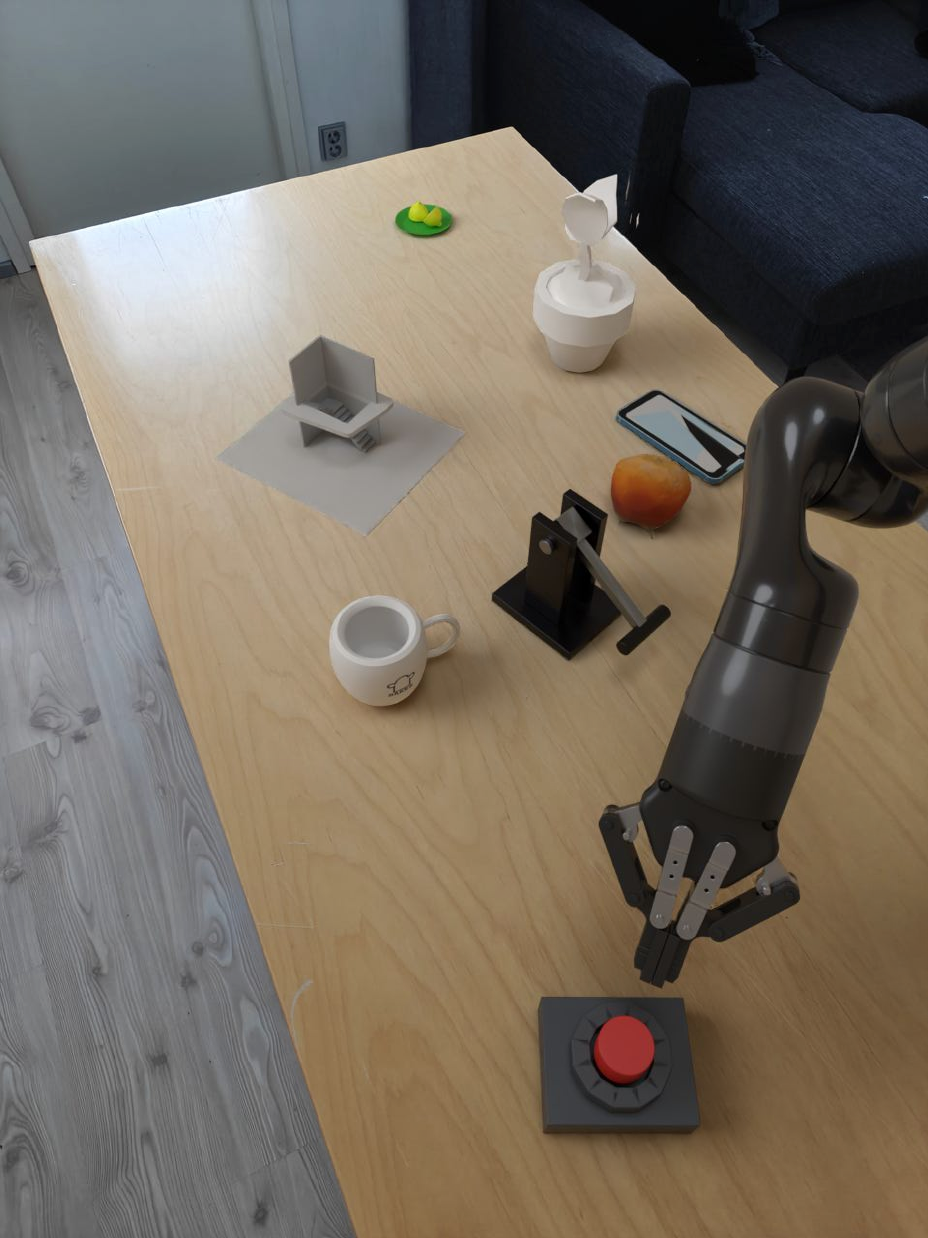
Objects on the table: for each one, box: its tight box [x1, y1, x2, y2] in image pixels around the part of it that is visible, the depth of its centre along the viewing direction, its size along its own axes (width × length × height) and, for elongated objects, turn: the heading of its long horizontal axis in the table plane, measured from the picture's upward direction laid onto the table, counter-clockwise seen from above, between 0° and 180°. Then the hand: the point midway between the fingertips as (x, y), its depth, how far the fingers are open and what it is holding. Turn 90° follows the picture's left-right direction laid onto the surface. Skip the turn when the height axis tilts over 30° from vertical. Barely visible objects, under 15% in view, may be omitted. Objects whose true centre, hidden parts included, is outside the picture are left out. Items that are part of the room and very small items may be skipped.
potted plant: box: [532, 170, 640, 374], centre depth 103 cm, size 13×12×25 cm
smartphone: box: [615, 388, 746, 485], centre depth 104 cm, size 7×1×15 cm
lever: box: [553, 507, 672, 657], centre depth 81 cm, size 13×6×2 cm, turn 45°
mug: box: [328, 594, 461, 707], centre depth 82 cm, size 12×8×8 cm
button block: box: [537, 996, 702, 1135], centre depth 63 cm, size 10×8×5 cm
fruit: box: [610, 453, 692, 540], centre depth 95 cm, size 8×8×8 cm
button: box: [594, 1016, 655, 1084], centre depth 60 cm, size 4×4×3 cm
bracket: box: [491, 488, 622, 661], centre depth 84 cm, size 10×8×13 cm
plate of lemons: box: [394, 200, 453, 236], centre depth 130 cm, size 8×8×3 cm
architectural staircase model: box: [214, 334, 467, 537], centre depth 99 cm, size 19×21×12 cm
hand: (651, 978), depth 58 cm, fingers closed
